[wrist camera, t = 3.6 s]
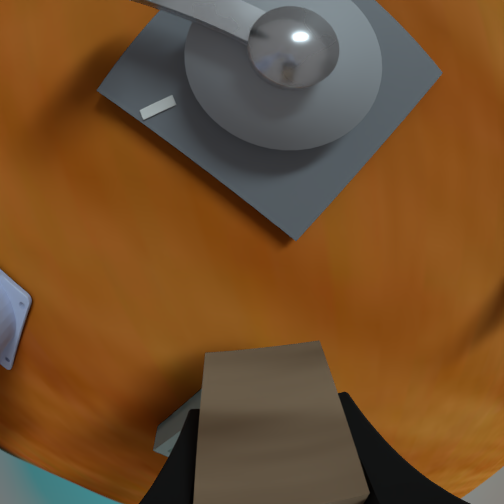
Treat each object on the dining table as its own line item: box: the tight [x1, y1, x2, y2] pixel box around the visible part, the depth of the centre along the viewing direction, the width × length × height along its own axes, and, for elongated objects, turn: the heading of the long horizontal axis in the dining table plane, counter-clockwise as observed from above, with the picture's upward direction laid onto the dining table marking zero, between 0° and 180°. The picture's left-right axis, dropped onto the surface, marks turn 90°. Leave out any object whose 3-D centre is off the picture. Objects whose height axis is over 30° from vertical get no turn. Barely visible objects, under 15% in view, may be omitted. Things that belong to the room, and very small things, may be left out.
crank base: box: [97, 0, 442, 241], centre depth 12 cm, size 12×12×2 cm
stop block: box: [193, 341, 370, 504], centre depth 9 cm, size 4×4×6 cm
